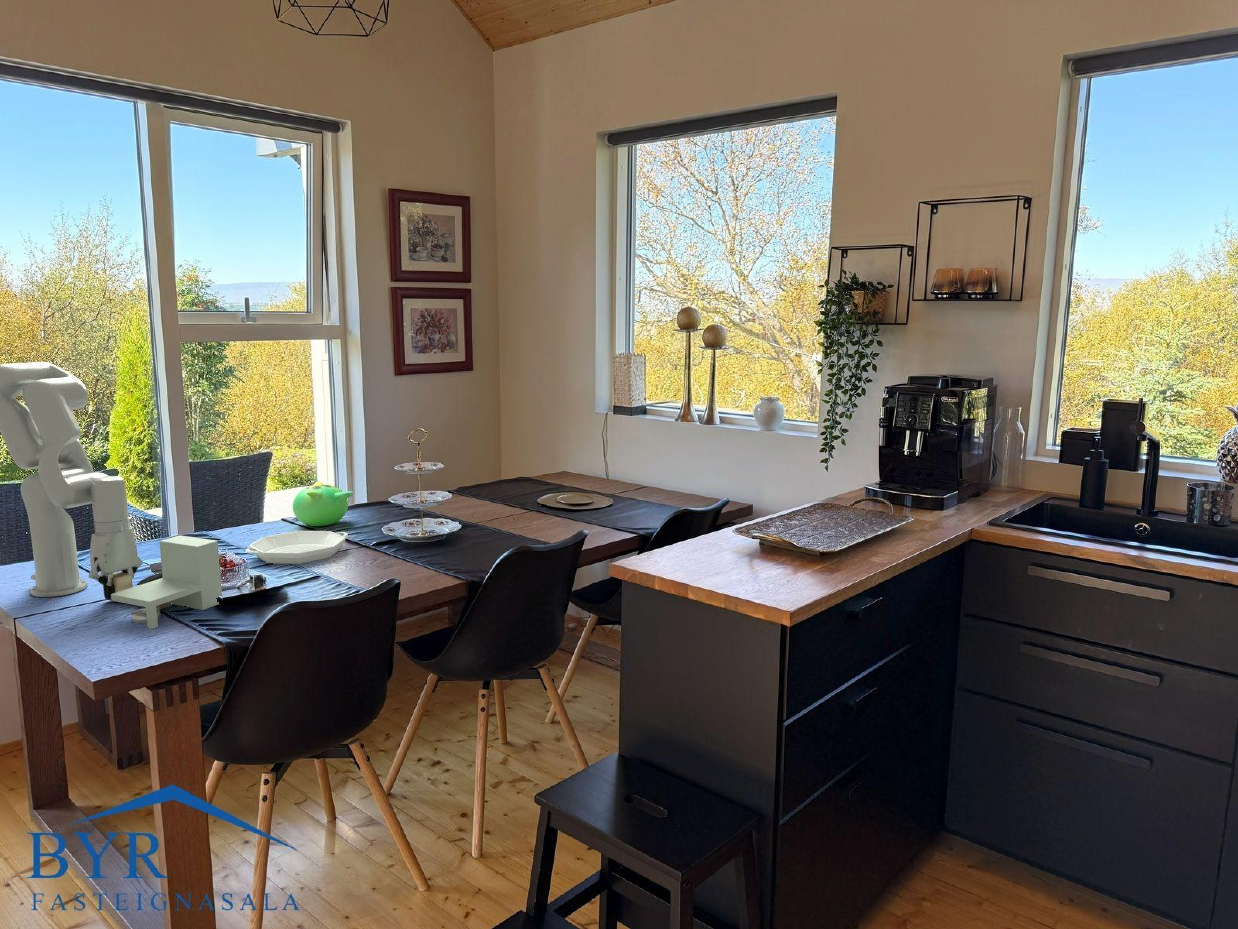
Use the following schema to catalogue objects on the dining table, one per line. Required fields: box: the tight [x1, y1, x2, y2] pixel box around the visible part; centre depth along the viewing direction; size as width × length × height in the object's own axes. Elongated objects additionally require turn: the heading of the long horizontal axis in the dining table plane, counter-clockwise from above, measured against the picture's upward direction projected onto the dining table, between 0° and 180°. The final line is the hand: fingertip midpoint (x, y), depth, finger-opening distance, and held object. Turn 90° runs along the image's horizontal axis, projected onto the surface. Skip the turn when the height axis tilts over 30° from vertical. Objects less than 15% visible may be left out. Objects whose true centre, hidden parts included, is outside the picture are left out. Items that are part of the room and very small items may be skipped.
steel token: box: [130, 607, 161, 625], centre depth 209 cm, size 6×6×2 cm
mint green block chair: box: [136, 552, 227, 586], centre depth 243 cm, size 8×4×25 cm
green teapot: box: [292, 480, 355, 527], centre depth 298 cm, size 18×17×15 cm
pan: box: [244, 530, 349, 565], centre depth 264 cm, size 31×26×4 cm
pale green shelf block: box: [110, 535, 223, 630], centre depth 213 cm, size 13×20×16 cm, turn 156°
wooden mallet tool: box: [106, 571, 172, 610], centre depth 218 cm, size 19×4×6 cm, turn 66°
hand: (119, 596), depth 221 cm, fingers closed on wooden mallet tool, 4 cm apart
